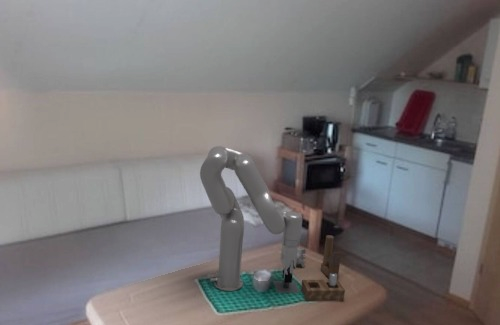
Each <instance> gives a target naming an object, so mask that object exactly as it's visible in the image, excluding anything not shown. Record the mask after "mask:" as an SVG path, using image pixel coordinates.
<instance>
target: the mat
mask: <svg viewBox="0 0 500 325" xmlns="http://www.w3.org/2000/svg"><path fill="white" fill-rule="evenodd" d="M272 283H273V285H274V287H275V288H274V289H275V290H276V293H278V294H281V293H284V294H286V293H289V294H291V293H293V294H294V293H295V294H296V293H297V294H298V293H301V291H300V289H299V287H298V285H297V283H296V281H295V280H292V282H291V283H290V287H289V288H284V287H283V280H272Z"/></svg>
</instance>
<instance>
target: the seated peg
mask: <svg viewBox="0 0 500 325" xmlns="http://www.w3.org/2000/svg"><path fill="white" fill-rule="evenodd" d="M328 280H329V286H328V287H329V288H336V281H337V274H336V273H330V278H328Z"/></svg>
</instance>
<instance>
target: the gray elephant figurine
mask: <svg viewBox="0 0 500 325" xmlns="http://www.w3.org/2000/svg"><path fill="white" fill-rule="evenodd" d="M306 250H307V249H306V248H300V247H297V263H296V265H301V268H302V269H304V268H306V265H305V263H306V262H305V261H304V259H306V255H305V254H306V252H307V251H306Z"/></svg>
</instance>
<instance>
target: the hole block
mask: <svg viewBox="0 0 500 325" xmlns="http://www.w3.org/2000/svg"><path fill="white" fill-rule="evenodd" d="M328 286H329V279H302V280H301V286H300V290H301V292H302V294H303V297H304V299H305V301H306V302H309V301H310V302H315V301H316V302H319V301H320V302H321V301H322V302H323V301H324V302H325V301H327V302H328V301H331V302H332V301H335V302H336V301H338V302H344V301H345V300H344V299H345V292H346V290H345V288H344V287H343V285H342V284H341V282H340V281H339V279H338V280H337V281H336V288H329V287H328Z"/></svg>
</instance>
